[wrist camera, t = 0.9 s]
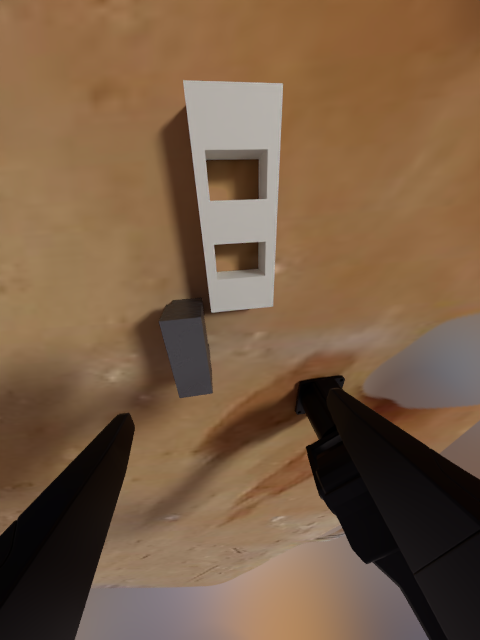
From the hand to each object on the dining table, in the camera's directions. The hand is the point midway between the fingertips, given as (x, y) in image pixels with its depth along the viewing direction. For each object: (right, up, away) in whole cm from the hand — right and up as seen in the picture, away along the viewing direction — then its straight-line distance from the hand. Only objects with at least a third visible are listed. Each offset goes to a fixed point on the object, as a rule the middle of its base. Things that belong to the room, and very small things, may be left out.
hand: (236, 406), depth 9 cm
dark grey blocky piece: (-5, +3, +12) cm, 13 cm away
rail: (0, +12, +8) cm, 14 cm away
